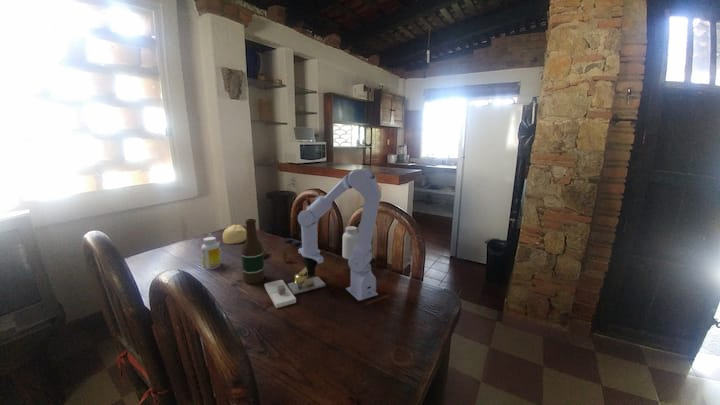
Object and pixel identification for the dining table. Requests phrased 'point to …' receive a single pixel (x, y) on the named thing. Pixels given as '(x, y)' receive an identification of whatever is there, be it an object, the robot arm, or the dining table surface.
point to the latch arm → (301, 276)
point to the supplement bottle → (210, 253)
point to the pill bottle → (349, 241)
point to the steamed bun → (234, 234)
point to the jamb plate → (306, 285)
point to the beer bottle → (252, 255)
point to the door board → (280, 297)
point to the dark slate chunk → (293, 242)
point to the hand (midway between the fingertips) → (311, 275)
